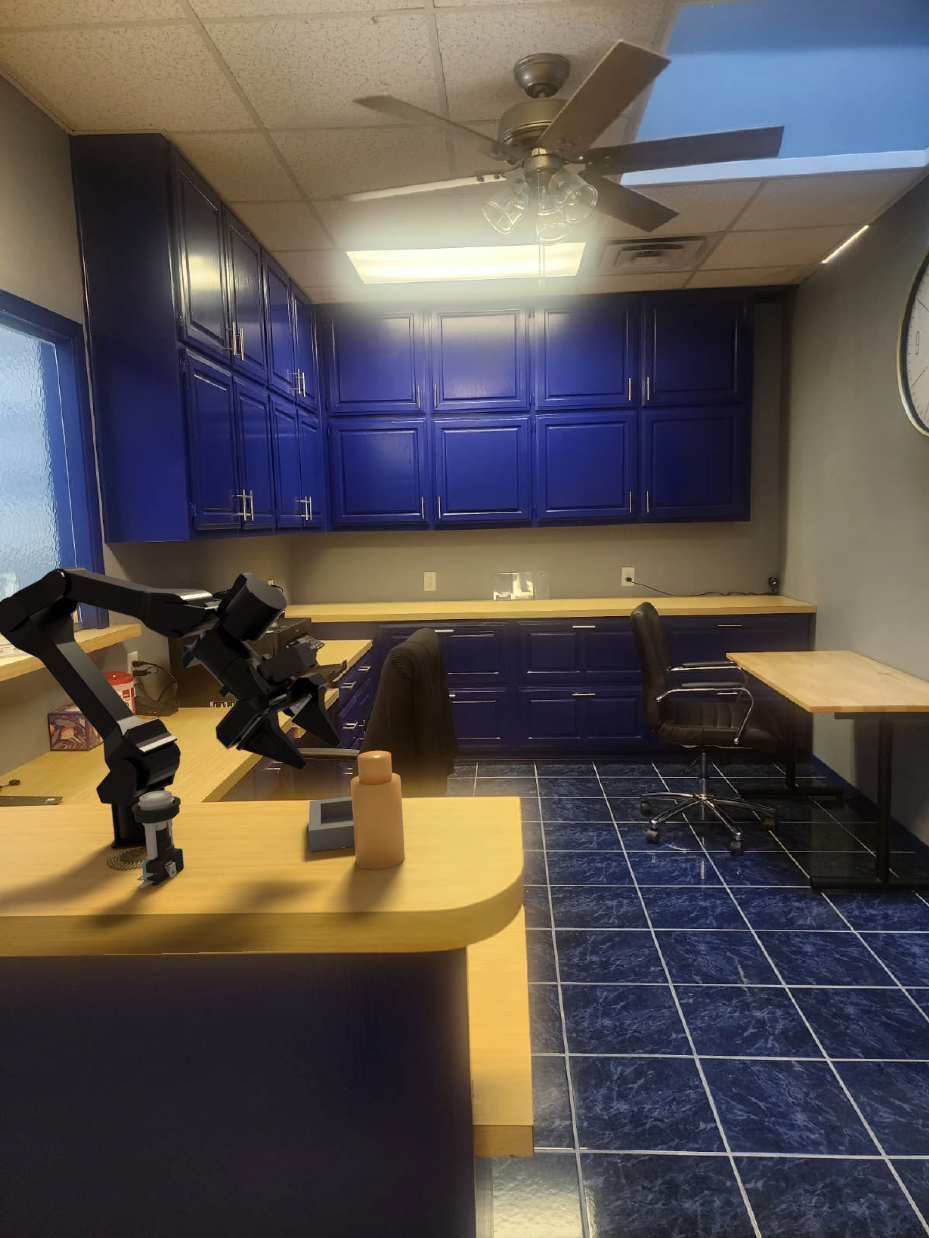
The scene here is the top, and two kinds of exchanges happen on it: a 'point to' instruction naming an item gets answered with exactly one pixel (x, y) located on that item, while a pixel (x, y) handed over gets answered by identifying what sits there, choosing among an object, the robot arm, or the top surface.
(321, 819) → the socket
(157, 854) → the push button
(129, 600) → the robot arm
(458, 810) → the top surface
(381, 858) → the peach lotion bottle
